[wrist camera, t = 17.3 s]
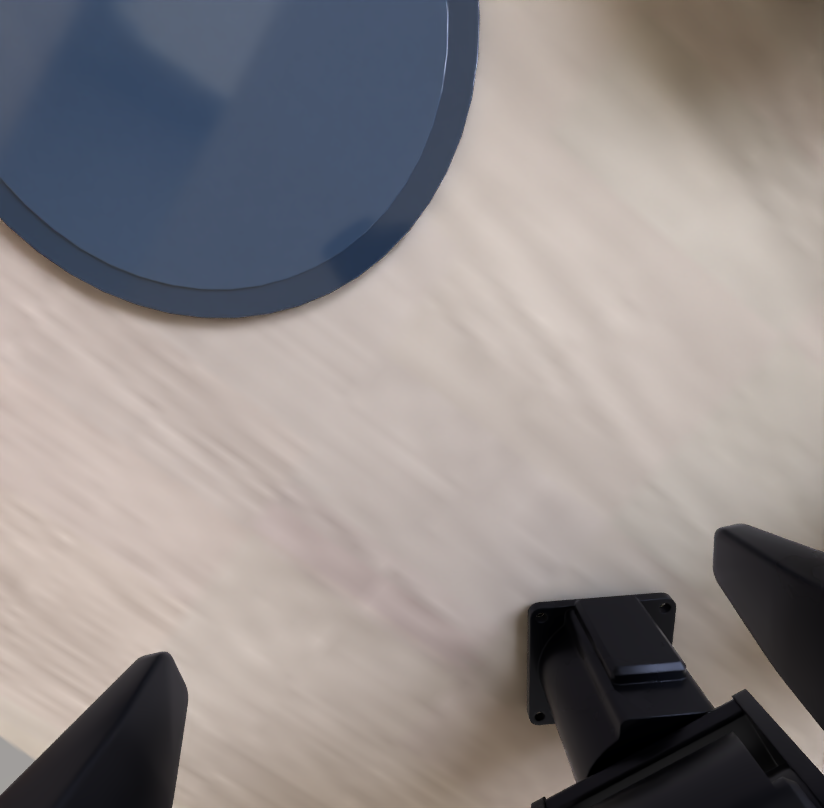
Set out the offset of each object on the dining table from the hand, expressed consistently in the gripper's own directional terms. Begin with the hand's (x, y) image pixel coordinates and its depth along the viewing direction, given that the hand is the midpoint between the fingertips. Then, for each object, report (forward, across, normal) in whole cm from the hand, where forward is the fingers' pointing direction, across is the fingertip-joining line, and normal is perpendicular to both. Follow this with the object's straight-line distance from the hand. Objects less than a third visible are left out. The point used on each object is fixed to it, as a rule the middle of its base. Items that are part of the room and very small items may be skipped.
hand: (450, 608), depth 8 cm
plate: (+14, +4, -12) cm, 19 cm away
